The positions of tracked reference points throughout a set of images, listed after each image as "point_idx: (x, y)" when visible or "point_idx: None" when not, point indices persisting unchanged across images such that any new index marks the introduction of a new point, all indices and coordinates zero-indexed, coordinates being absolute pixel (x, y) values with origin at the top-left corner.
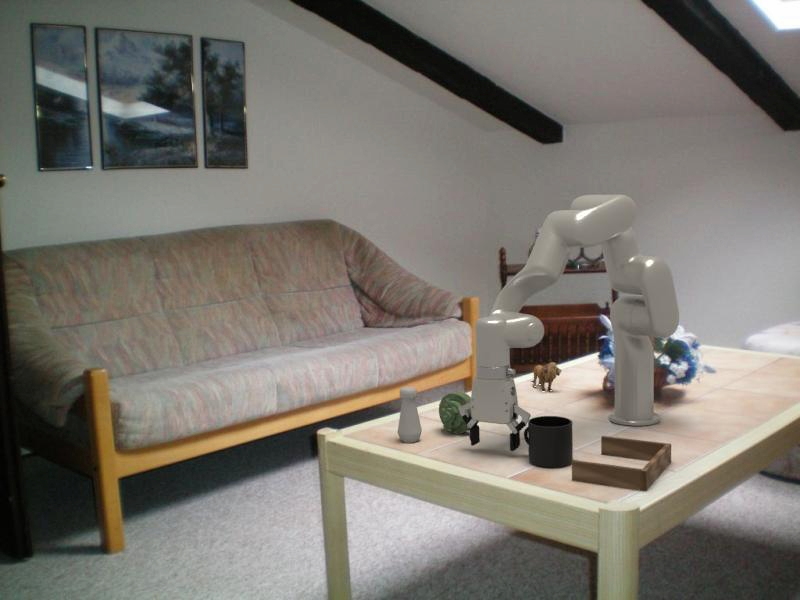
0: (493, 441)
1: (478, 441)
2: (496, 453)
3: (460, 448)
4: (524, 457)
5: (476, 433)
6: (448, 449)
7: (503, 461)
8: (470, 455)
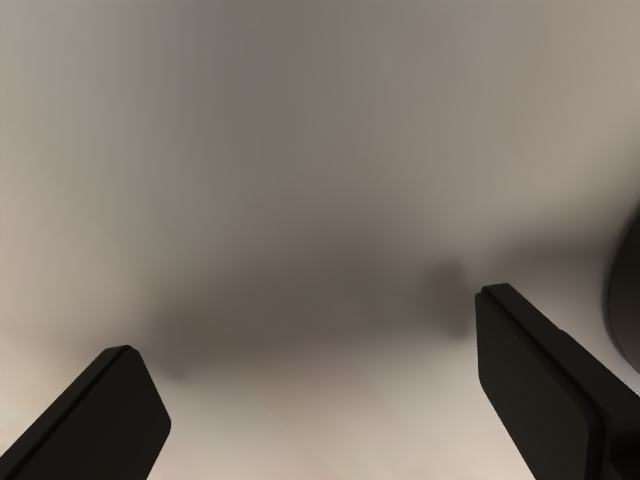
0: (71, 66)
1: (137, 371)
2: (320, 319)
3: (57, 362)
4: (544, 285)
5: (99, 475)
6: (26, 411)
7: (452, 412)
8: (216, 426)
